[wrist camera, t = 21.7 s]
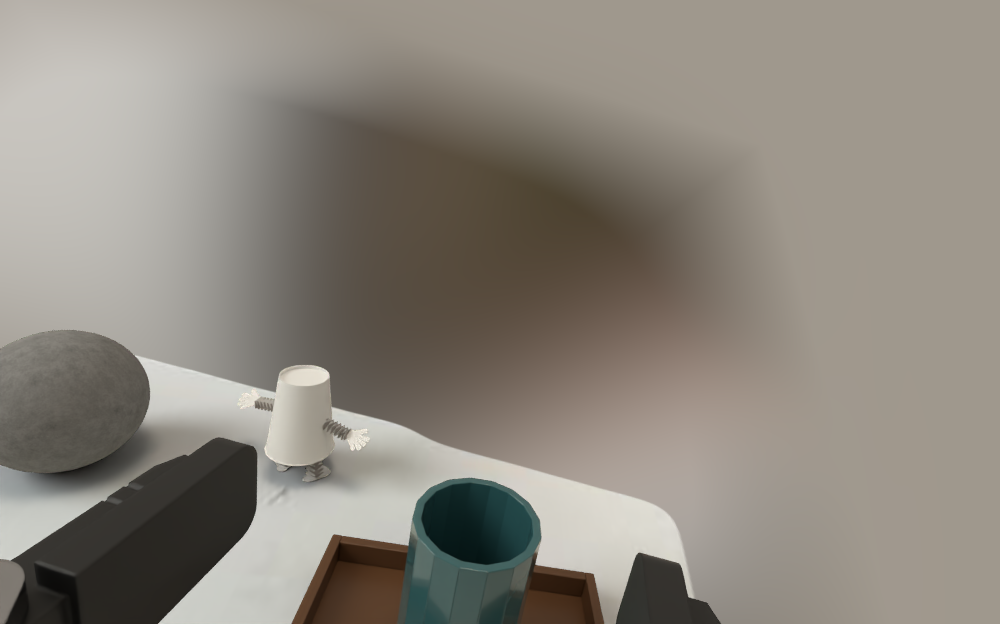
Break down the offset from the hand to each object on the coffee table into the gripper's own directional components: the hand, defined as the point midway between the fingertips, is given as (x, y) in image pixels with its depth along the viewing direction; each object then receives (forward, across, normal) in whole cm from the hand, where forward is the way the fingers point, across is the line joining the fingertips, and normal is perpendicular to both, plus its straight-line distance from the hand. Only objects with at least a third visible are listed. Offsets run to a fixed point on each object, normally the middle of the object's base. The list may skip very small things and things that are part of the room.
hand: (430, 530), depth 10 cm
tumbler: (+11, 0, +19) cm, 22 cm away
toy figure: (+23, +17, +19) cm, 35 cm away
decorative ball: (+18, +32, +19) cm, 41 cm away
